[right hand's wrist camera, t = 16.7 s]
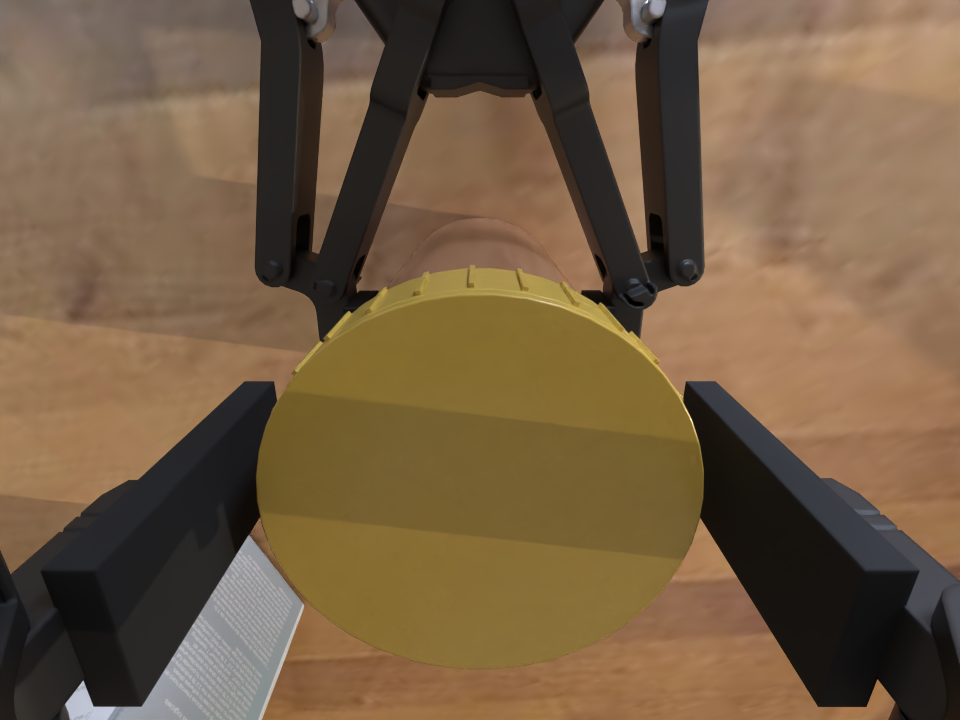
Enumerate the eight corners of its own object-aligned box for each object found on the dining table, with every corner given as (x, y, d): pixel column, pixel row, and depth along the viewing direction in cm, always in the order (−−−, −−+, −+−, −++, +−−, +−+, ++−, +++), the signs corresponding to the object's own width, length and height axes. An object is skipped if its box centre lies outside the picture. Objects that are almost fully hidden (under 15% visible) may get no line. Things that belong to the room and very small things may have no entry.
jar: (572, 227, 25) (718, 326, 10) (547, 381, 28) (627, 642, 13) (404, 208, 24) (280, 281, 9) (396, 366, 27) (293, 616, 12)
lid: (304, 227, 11) (257, 244, 8) (722, 304, 11) (781, 338, 9) (283, 567, 14) (246, 643, 12) (609, 613, 14) (633, 694, 12)
